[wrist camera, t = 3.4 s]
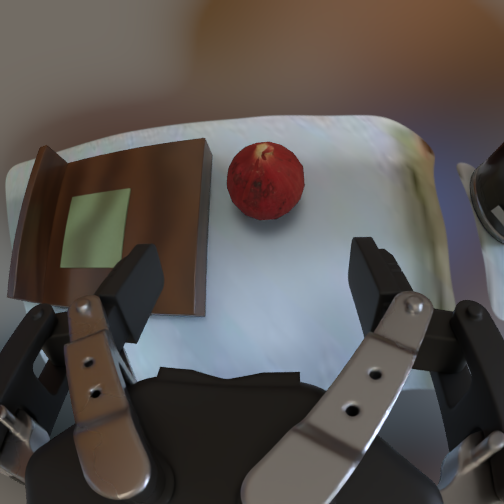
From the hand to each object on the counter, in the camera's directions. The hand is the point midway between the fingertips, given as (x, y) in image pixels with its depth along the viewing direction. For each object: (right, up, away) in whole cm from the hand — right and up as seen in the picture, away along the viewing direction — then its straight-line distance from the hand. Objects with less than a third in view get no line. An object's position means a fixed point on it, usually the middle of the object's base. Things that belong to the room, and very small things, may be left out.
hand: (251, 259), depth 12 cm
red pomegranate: (+1, +5, +14) cm, 15 cm away
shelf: (-12, +2, +14) cm, 19 cm away
